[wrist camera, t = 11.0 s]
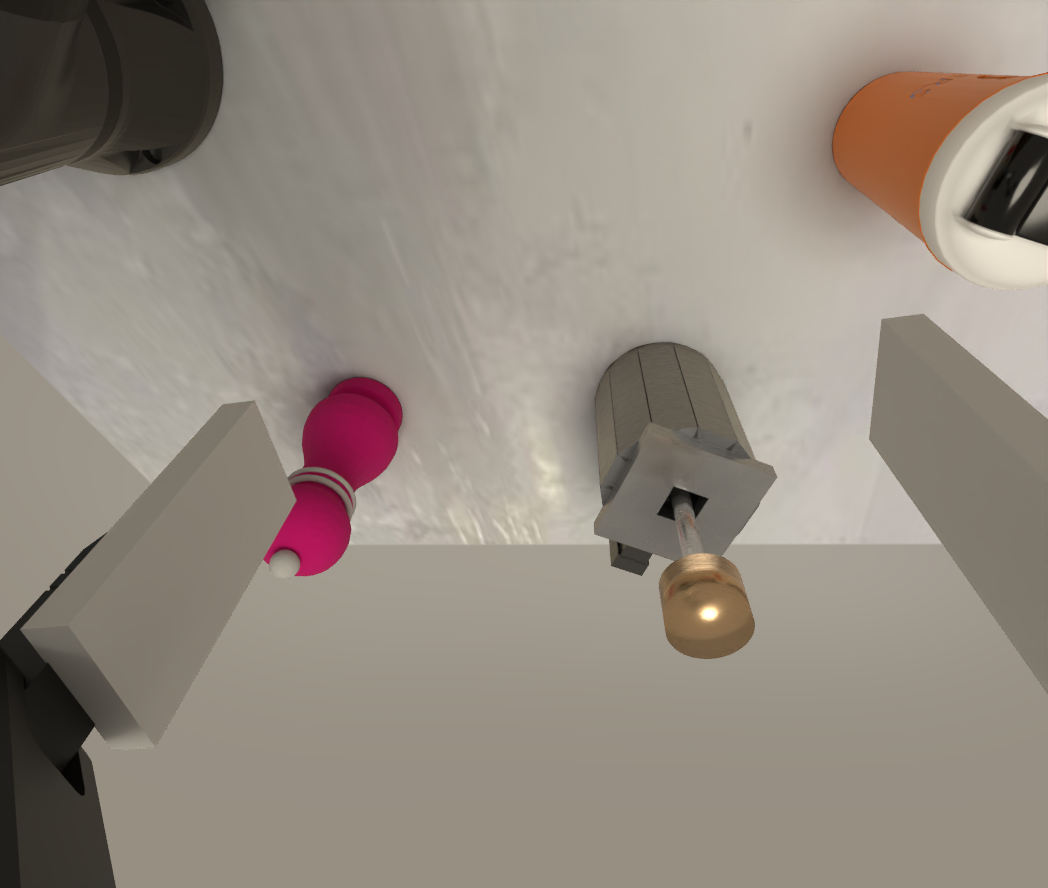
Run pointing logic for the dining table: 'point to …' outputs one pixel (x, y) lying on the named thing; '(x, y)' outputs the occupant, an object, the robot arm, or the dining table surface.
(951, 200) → the shaker bottle
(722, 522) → the faceted grey canister
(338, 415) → the pepper mill
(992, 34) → the dining table surface
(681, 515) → the plunger
